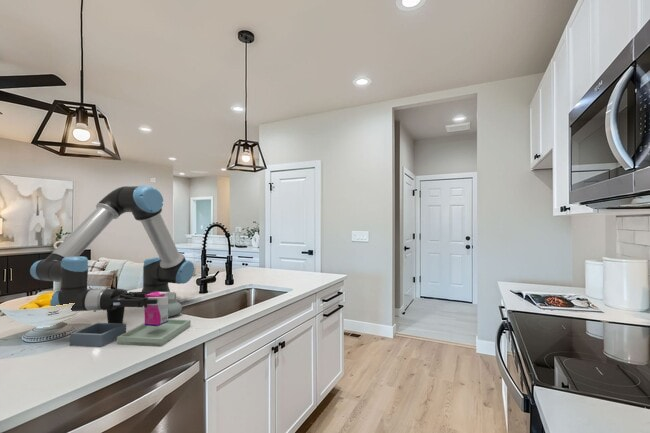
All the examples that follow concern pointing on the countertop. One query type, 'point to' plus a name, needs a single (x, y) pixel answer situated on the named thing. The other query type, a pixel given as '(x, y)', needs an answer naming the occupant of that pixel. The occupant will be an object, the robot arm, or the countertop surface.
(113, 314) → the drinking cup
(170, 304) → the grey knobbed rounded piece
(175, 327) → the tray
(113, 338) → the grey storage bin
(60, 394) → the countertop surface
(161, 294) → the supplement box
